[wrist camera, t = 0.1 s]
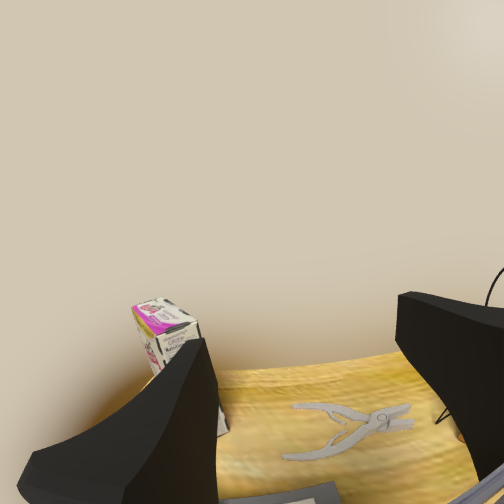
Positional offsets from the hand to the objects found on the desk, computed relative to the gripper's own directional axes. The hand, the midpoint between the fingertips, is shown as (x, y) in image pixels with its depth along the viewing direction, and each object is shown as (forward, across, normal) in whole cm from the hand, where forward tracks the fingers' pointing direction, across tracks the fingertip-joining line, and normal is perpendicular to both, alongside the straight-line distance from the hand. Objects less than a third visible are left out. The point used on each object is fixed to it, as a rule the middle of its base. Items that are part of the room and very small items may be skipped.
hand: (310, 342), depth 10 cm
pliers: (+12, -7, +23) cm, 27 cm away
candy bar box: (+19, +12, +23) cm, 32 cm away
